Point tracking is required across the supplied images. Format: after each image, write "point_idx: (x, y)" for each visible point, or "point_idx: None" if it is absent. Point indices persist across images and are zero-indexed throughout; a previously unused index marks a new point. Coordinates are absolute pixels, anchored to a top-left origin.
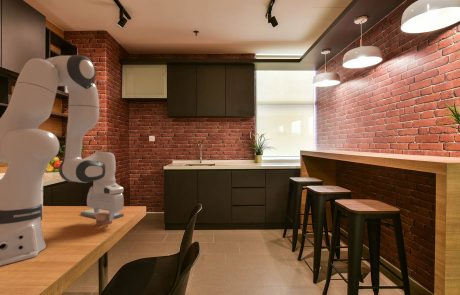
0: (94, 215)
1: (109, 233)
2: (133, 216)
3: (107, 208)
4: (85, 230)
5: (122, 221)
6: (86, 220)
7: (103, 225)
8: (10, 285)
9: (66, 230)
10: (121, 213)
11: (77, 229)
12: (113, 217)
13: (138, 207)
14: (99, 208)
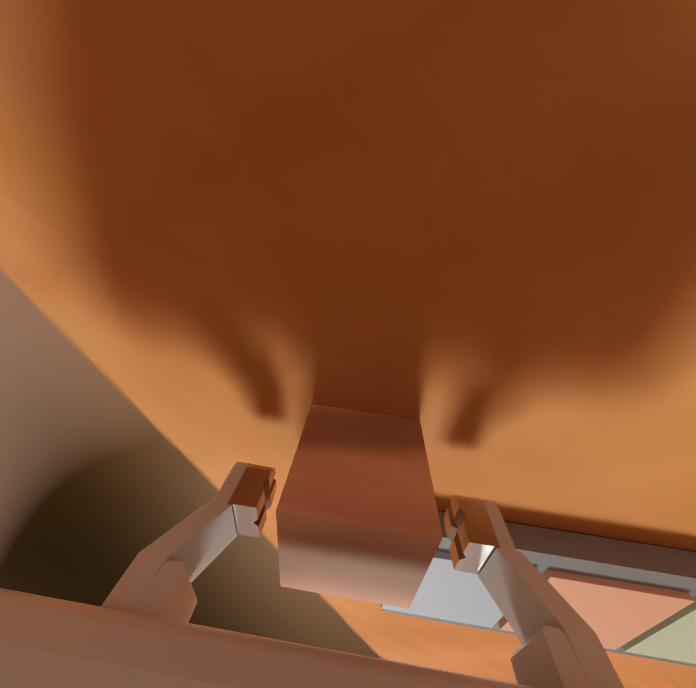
0: (609, 562)
1: (2, 244)
2: None
3: (103, 680)
4: (328, 201)
5: None
6: (625, 473)
7: (312, 409)
8: None
9: (640, 31)
10: (401, 612)
11: (476, 181)
12: None
13: None
14: (402, 680)
